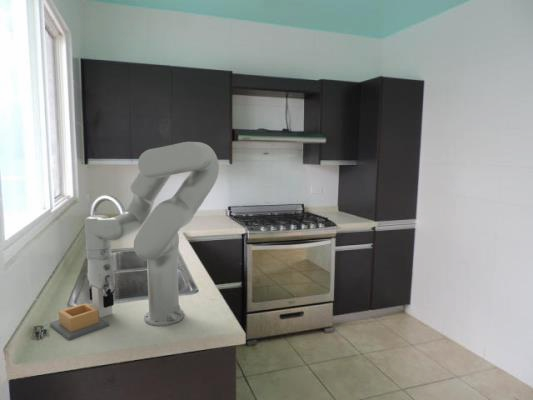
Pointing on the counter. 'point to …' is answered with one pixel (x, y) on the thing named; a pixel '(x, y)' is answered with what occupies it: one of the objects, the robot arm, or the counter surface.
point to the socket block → (78, 321)
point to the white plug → (100, 302)
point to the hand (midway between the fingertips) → (101, 302)
